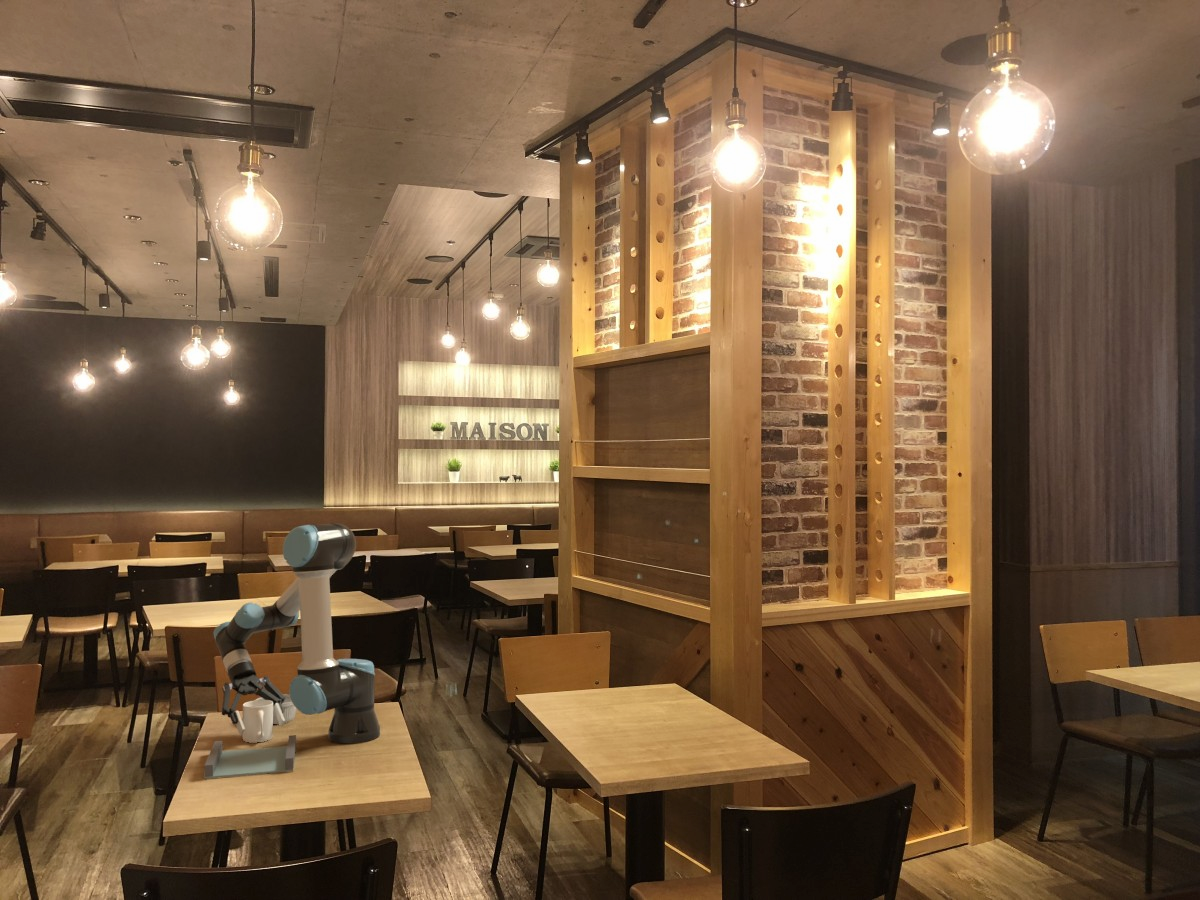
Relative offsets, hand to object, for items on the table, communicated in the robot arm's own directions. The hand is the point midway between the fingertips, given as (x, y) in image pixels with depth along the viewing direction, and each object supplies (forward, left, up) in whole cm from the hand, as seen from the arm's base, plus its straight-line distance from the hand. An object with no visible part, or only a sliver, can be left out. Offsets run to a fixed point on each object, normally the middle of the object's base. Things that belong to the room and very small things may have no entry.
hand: (262, 727), depth 274 cm
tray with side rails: (-8, +17, -4) cm, 19 cm away
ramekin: (+10, -22, -5) cm, 24 cm away
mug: (+2, -1, -5) cm, 5 cm away
